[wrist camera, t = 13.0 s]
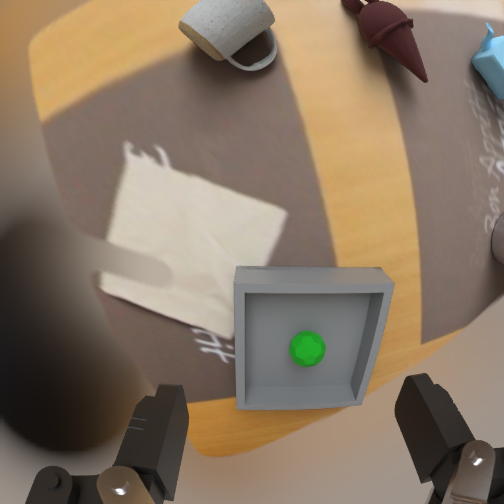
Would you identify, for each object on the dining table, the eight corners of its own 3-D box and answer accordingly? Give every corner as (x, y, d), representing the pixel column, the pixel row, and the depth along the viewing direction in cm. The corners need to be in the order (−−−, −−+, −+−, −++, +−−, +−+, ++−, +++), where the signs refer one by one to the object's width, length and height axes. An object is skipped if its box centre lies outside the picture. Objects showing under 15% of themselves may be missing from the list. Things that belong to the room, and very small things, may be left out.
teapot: (451, 42, 28) (482, 31, 21) (468, 24, 27) (497, 12, 20) (498, 107, 31) (531, 107, 24) (513, 86, 29) (544, 84, 22)
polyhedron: (280, 345, 43) (283, 366, 38) (299, 319, 41) (303, 339, 37) (310, 356, 43) (314, 378, 39) (329, 332, 42) (336, 352, 37)
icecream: (459, 64, 24) (379, -33, 22) (427, 83, 24) (337, -26, 21) (426, 81, 31) (357, -6, 28) (393, 101, 31) (317, 6, 28)
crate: (380, 267, 40) (394, 283, 35) (354, 384, 47) (361, 405, 42) (236, 266, 40) (233, 283, 35) (238, 387, 47) (236, 409, 42)
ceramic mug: (181, 36, 30) (164, 15, 23) (229, -6, 28) (224, -34, 21) (244, 88, 33) (241, 76, 25) (293, 45, 30) (302, 24, 23)
